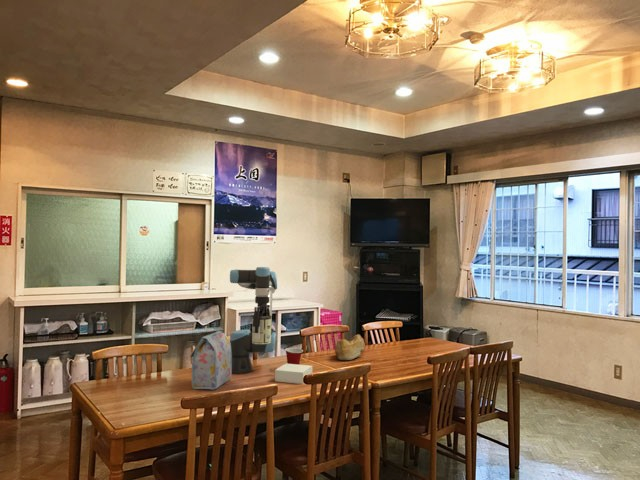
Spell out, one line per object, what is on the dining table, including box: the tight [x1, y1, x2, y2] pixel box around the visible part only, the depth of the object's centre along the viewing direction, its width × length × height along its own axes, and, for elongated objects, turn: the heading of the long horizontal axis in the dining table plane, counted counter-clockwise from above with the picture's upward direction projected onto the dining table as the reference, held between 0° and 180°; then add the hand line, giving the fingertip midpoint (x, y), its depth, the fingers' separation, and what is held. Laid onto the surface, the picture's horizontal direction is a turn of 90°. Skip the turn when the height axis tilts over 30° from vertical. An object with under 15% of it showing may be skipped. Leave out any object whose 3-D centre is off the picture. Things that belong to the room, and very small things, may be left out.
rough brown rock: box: [334, 333, 366, 361], centre depth 321 cm, size 23×17×15 cm
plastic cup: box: [284, 347, 304, 365], centre depth 286 cm, size 11×11×12 cm
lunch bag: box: [189, 330, 233, 391], centre depth 253 cm, size 22×17×26 cm
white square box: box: [274, 363, 313, 385], centre depth 266 cm, size 16×16×6 cm
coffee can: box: [251, 315, 273, 344], centre depth 259 cm, size 10×10×14 cm
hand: (261, 337), depth 259 cm, fingers closed on coffee can, 10 cm apart
